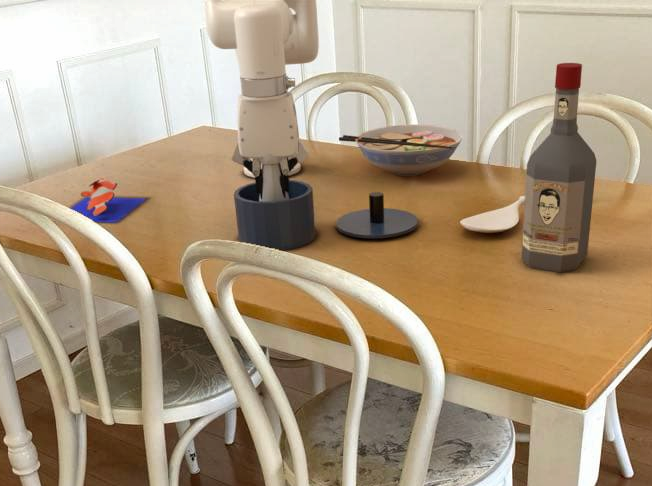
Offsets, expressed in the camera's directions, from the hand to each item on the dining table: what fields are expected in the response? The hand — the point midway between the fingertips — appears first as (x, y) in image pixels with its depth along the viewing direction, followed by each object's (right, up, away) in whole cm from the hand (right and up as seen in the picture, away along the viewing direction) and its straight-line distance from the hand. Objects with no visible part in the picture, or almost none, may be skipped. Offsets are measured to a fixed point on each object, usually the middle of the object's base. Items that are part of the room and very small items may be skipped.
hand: (273, 195), depth 154 cm
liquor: (+46, -14, -12) cm, 50 cm away
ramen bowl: (+26, +14, +36) cm, 47 cm away
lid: (+18, -4, +6) cm, 20 cm away
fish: (-37, +3, +23) cm, 43 cm away
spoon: (+45, -2, +8) cm, 46 cm away
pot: (0, -7, +4) cm, 8 cm away
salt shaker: (0, -4, +2) cm, 5 cm away
